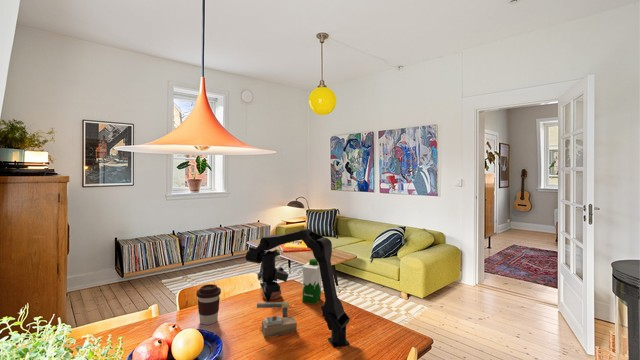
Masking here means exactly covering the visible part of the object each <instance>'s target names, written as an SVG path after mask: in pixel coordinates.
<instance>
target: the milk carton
mask: <svg viewBox="0 0 640 360" xmlns="http://www.w3.org/2000/svg"><path fill="white" fill-rule="evenodd" d="M301 268H302V303H304V304H311V305H317V303H318V302H319V301H320V300H321V298H322V297H321V296H322V295H321V294H322V279H321V274H320V268H319V263H318V262H317V260H316V259H315V258H312V259H309V262H307V263H305V264H303V266H301Z"/></svg>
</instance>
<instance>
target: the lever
mask: <svg viewBox="0 0 640 360" xmlns="http://www.w3.org/2000/svg"><path fill="white" fill-rule="evenodd" d="M256 308H257V309H266V308H267V309H269V308H270V309H273V308H277V309H278V308H279V309H280V308H281V309H282V308H284V309H285V308H288V309H289V308H290V302H289V301H285V300H284V301H279V302H273V301H272V302H257V303H256Z"/></svg>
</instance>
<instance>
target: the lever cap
mask: <svg viewBox="0 0 640 360" xmlns="http://www.w3.org/2000/svg"><path fill="white" fill-rule="evenodd" d="M281 318H282V317H281V316H280V315H276V316H275V315H274V316H268V317H264V321H265V323H266V326H273V325H279V324H282V320H281Z"/></svg>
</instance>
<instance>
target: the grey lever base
mask: <svg viewBox="0 0 640 360" xmlns="http://www.w3.org/2000/svg"><path fill="white" fill-rule="evenodd" d="M281 309H282V310H281V311H282V316H281V317H280V318H281V320H282V324H279V325H273V326H266V323H265V320H261V333H262V335H263V338H264V339H266V338H267V339H268V338H272V337H277V336H279V337H280V336H284V335H289V334H295V333H296V334H297V333H298V331H297V330H298V328H297V327H298V326H297V325H298V324H297V323H298V322H297V321H296V319H295V318H294V316H288V314H289V313H288V309H289V308H285V309H284V308H281Z"/></svg>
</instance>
